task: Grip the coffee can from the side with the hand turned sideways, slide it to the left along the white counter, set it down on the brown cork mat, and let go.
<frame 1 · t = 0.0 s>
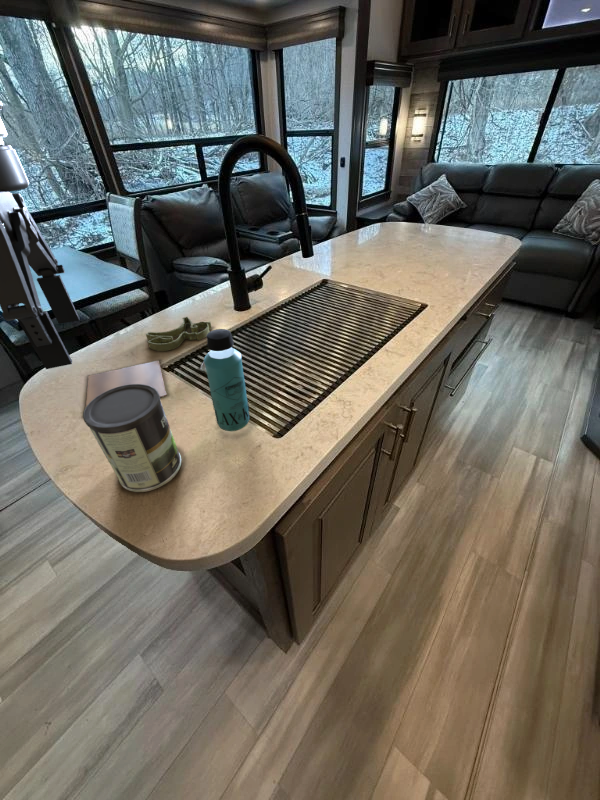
hand: (65, 341, 45), 23 cm above the worktop, tool pointing down, fingers open, 13 cm apart
beverage bottle: (235, 426, 65), on the worktop
dessert: (217, 366, 82), on the worktop
coffee can: (150, 468, 57), on the worktop
cork mat: (126, 385, 76), on the worktop
cookie cutter: (180, 337, 94), on the worktop
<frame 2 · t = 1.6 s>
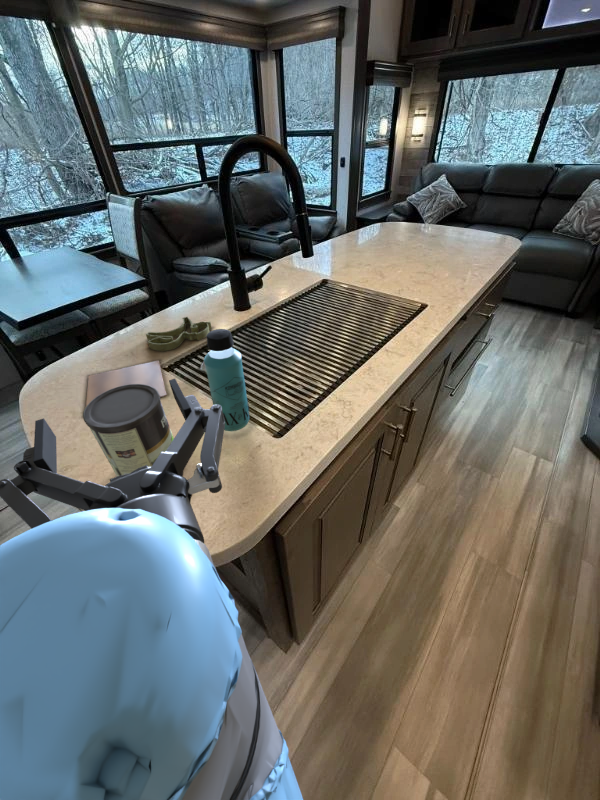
hand: (114, 407, 38), 20 cm above the worktop, tool horizontal, fingers open, 13 cm apart
nothing on the worktop moved.
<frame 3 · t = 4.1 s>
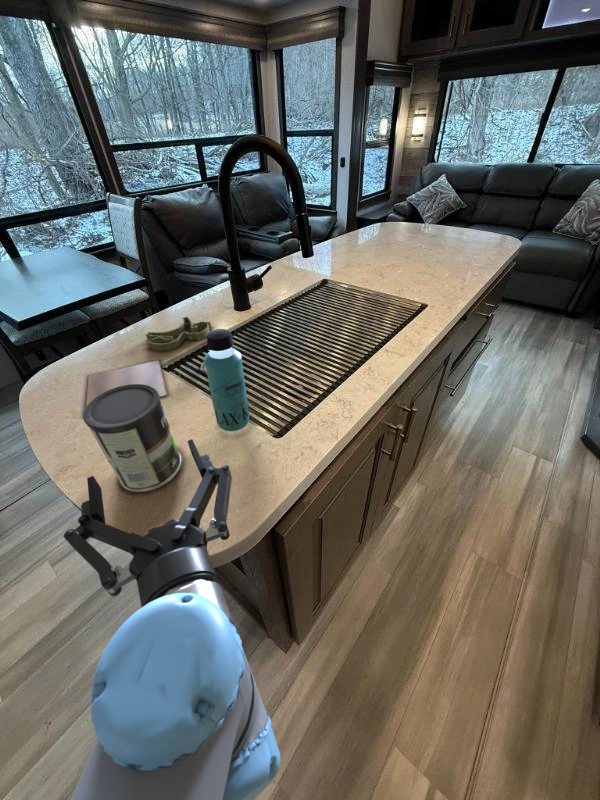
hand: (145, 463, 48), 7 cm above the worktop, tool horizontal, fingers open, 13 cm apart
nothing on the worktop moved.
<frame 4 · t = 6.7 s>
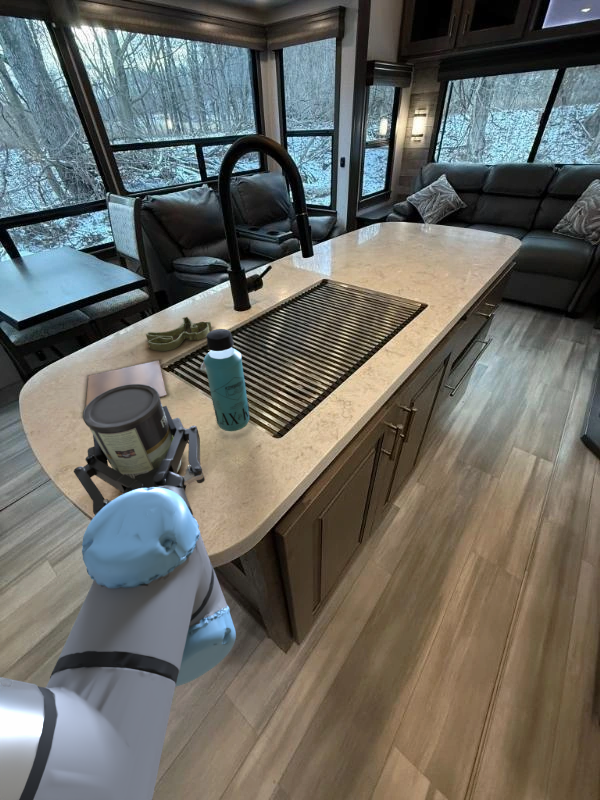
hand: (133, 423, 55), 7 cm above the worktop, tool horizontal, fingers closed on coffee can, 10 cm apart
coffee can: (150, 468, 57), on the worktop, touching gripper
everything else where it was.
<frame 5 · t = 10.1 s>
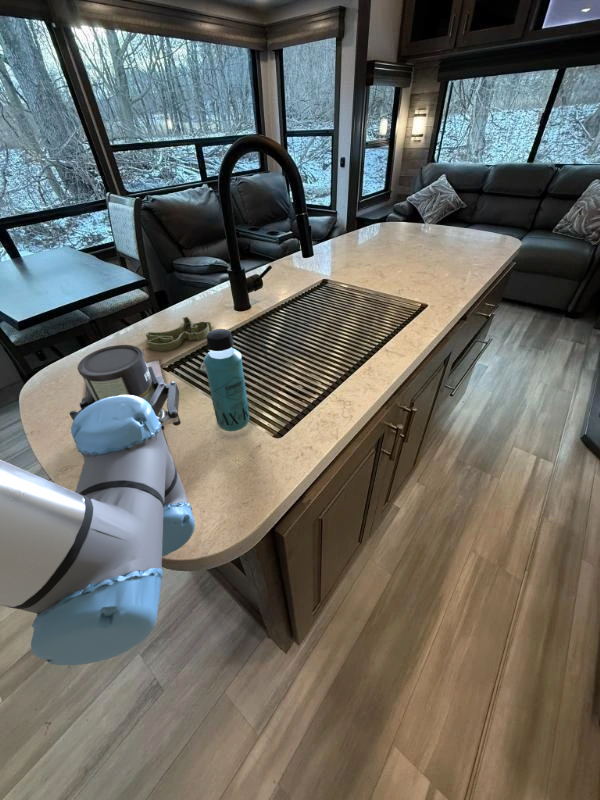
hand: (122, 380, 64), 8 cm above the worktop, tool horizontal, fingers closed on coffee can, 10 cm apart
coffee can: (137, 421, 65), point 1 cm above the worktop, touching gripper
everything else where it was.
when the fingers open (7 cm above the worktop, at t = 13.9 s): coffee can stays where it is, resting on cork mat.
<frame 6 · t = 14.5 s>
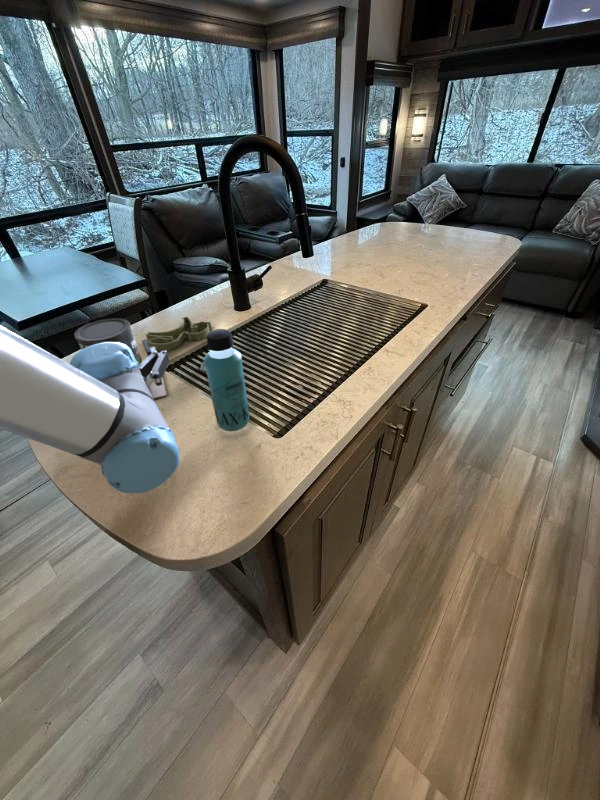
hand: (113, 352, 74), 7 cm above the worktop, tool horizontal, fingers open, 13 cm apart
coffee can: (126, 385, 76), resting on cork mat
everything else where it was.
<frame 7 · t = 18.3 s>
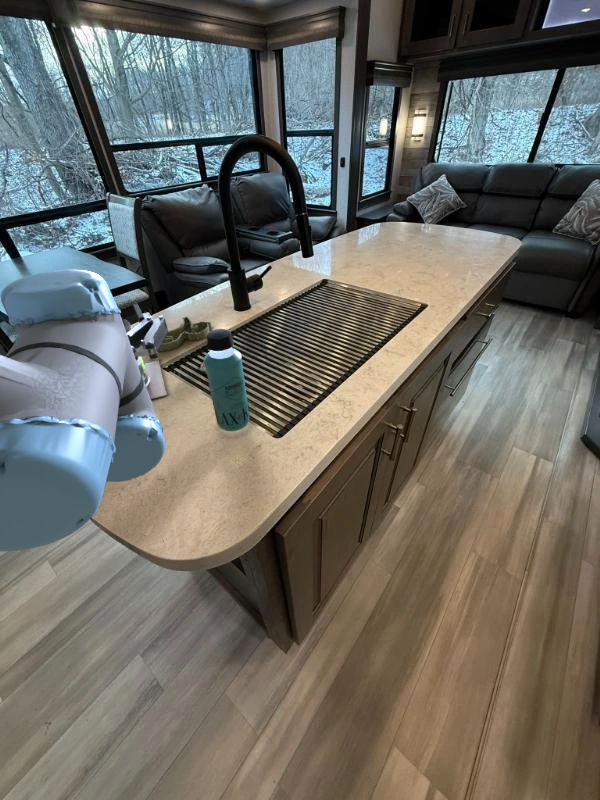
hand: (95, 319, 57), 20 cm above the worktop, tool horizontal, fingers open, 13 cm apart
nothing on the worktop moved.
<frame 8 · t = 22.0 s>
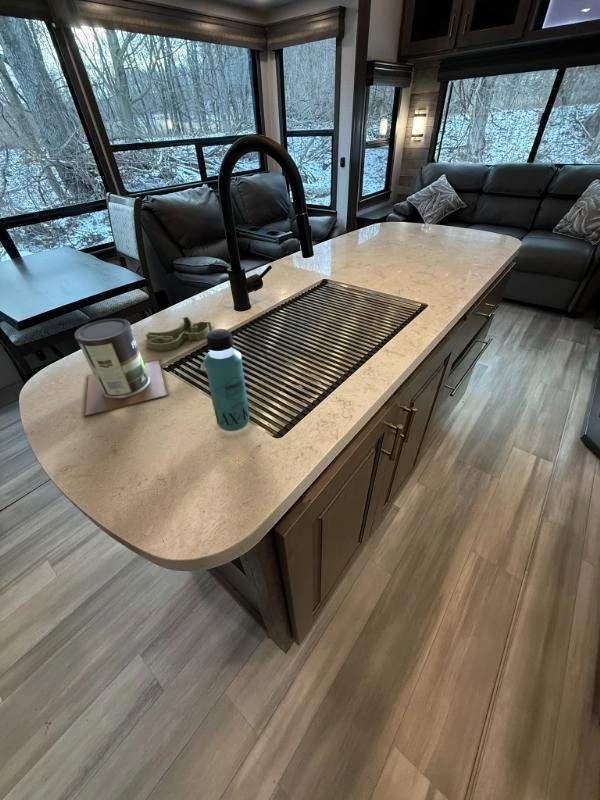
nothing on the worktop moved.
at the end: coffee can inside the target area on the cork mat (0.2 cm from its centre), point 0.0 cm above the cork mat's base; coffee can tilted 0°; coffee can moved 28.0 cm from its start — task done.
